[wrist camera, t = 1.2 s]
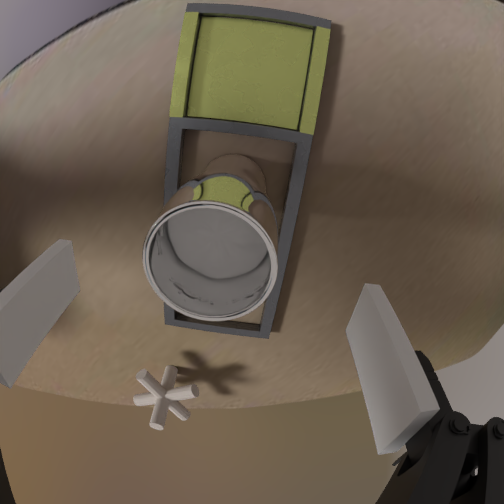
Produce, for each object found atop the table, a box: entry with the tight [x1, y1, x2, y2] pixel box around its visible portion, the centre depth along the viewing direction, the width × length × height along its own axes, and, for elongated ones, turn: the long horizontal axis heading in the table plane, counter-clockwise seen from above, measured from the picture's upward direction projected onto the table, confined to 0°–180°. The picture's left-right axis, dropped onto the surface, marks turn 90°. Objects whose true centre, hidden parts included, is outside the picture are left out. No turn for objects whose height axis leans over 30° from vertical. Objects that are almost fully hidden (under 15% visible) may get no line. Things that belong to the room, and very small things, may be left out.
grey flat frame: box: [164, 3, 331, 339], centre depth 27 cm, size 12×34×1 cm, turn 172°
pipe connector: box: [133, 365, 199, 430], centre depth 35 cm, size 10×10×10 cm
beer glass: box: [142, 154, 278, 321], centre depth 20 cm, size 7×7×15 cm
